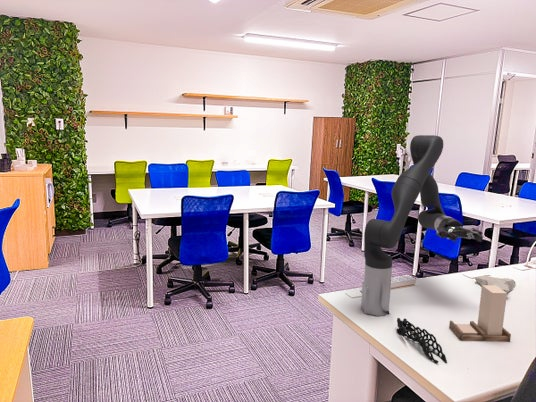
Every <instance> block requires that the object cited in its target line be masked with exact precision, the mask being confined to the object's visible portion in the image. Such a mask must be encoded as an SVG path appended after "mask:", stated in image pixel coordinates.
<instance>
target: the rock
mask: <svg viewBox="0 0 536 402" xmlns="http://www.w3.org/2000/svg"><path fill="white" fill-rule="evenodd" d="M474 279H475V281H476V282H477V283H478V284H479V285H480V286H481V287H482V285H496V286H498V287H499V288H500V289H502V290H503V291H505V292H506V293H507V294H508V293H509V292H510V291H513V289H514V288H515V285H516V283H517V282H516V281H515V280H514V279H511V278H499V277H494V276H493V277H492V276H488V275H486V274H485V275H481V276H477V277H474Z"/></svg>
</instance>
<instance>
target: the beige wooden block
mask: <svg viewBox="0 0 536 402" xmlns="http://www.w3.org/2000/svg"><path fill="white" fill-rule="evenodd" d="M480 292H481V293H480V300H479V308H478V309H479V310H478V318H477V323H476V324H477V325H478V326H479V327H480V328H481V329H482V330H483V331H484V332H485V333H486V336H502V329H503V328H504V320H505V319H504V318H505V314H506V313H505V312H506V307H507V306H506V305H507V297H508V293H506V292H505V291H503V290H502V289H500V288H499V287H498V286H496V285H482V286H481V291H480Z"/></svg>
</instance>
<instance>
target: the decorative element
mask: <svg viewBox="0 0 536 402" xmlns="http://www.w3.org/2000/svg"><path fill="white" fill-rule="evenodd" d="M396 323H397V327H398V328H396V334H398V335H399V336H401V337H406V338H407V339H410V340H411V341H413V342H416V343H418V344H419V347H421V348H422V351H423V352H424V354H425V356H426V357H428V358H429V360H430V361H433V362H434V364H436V365H437V364H438V363H439V362H440V361H439V360H437V359H435V358H434V355H435V356H436V357H438V358H439V359H441V360H442V361H443V362H444V364H448V361H447V357H446V354H445V353H444V352H443V348H442V345H441V344H440V343H438V342H437V338H436V336H434V334H433V333H429V332H428V330H426V329H425V328H422V329H421V328H420V326H415V325H414V324H413V323H411V322H410V321H408V319H407V318H403V320H401V318H400V317H397V318H396ZM412 332H413V333H412ZM430 342H431V343H430ZM430 347H431V348H432V350H431V349H430ZM435 351H436V352H437V353H436V352H435ZM440 355H441V356H440Z"/></svg>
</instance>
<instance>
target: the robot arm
mask: <svg viewBox="0 0 536 402" xmlns="http://www.w3.org/2000/svg"><path fill="white" fill-rule="evenodd" d="M443 149H444V140H443V138H442V137H441V136H438V135H433V134H431V135H429V134H428V135H427V134H425V135H424V134H423V135H422V134H421V135H420V134H419V135H415V136H413V137H412V139H411V141H410V144H409V150H410V151H409V152H410V156H411V161H412V166H409V168H407V169H406V170H404V171H403V172H402V173H400V175H399V176H398V177H397V178H396V181H395V183H394V185H393V186H392V189H391V199H392V203H393V206H394V207H393V208H394V212H393V216H392V218H391V220H383V219H378V218H371V219H369V220H368V221H367V223H366V225H365V227H364V232H363V233H364V236H363V237H364V238H363V243H364V244H363V245H364V246H363V247H364V249H363V251H364V252H363V253H364V254H363V256H364V276H363V277H364V279H363V281H362V282H361V283H362V284H361V285H362V286H361V300H360V301H361V305H360V307H361V309H362V310H363V313H364V314H365V315H367V314H368V315H370V316H377V317H378V316H379V317H382V316H386V315H388V314H389V312H390V311H389V310H390V301H391V289H392V288H391V286H392V285H391V284H392V276H393V275H392V273H393V272H392V271H393V258H392V257H391V256H390V255H389V254H388V253H386V252H385V251H384V250H383V249H382V248H384V249H389V250H390V249H393V248H394V247H396V245H397V244H398V243H399V240H400V238H401V235H402V232H403V230H404V229H405V224H406V222H407V219H408V217H409V214H410V213H411V211H412V208H413V207H414V205H415V202H416V200H417V199H418V197H419V195H420V203H421V205H422V206H423V207H425V208H430V209H426V210H422V211H420V212H419V213H418V216H417V220H418V221H417V222H418V223H419V225H420V226H421V227H422V228H425V229H429V230H434V231H436V233H435V235H436V236H438V237H439V238H440V239H445V238H446V240H451V241H452V242H457V239H466V240H471V239H472V240H475V241H477V242H479V243H482V241H483V240H484V239H483V238H484V236H483V231H481V230H479V229H476V228H474V227H472V228H466V227H464V226H463V225H464V224H462V223H461V222H460V221H459V220H457V219H455V218H453V217H451V216H447V215H446V213H445V211H444V209H443V208H442V205H441V201H440V195H439V194H440V192H439V186H438V183H437V181H436V179H435V178H434V176H433V175H432V174H431V171H432V170H433V168H434V166H435V165H436V163H437V162H438V161H439V159H440V157H441V154H442V153H443Z"/></svg>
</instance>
